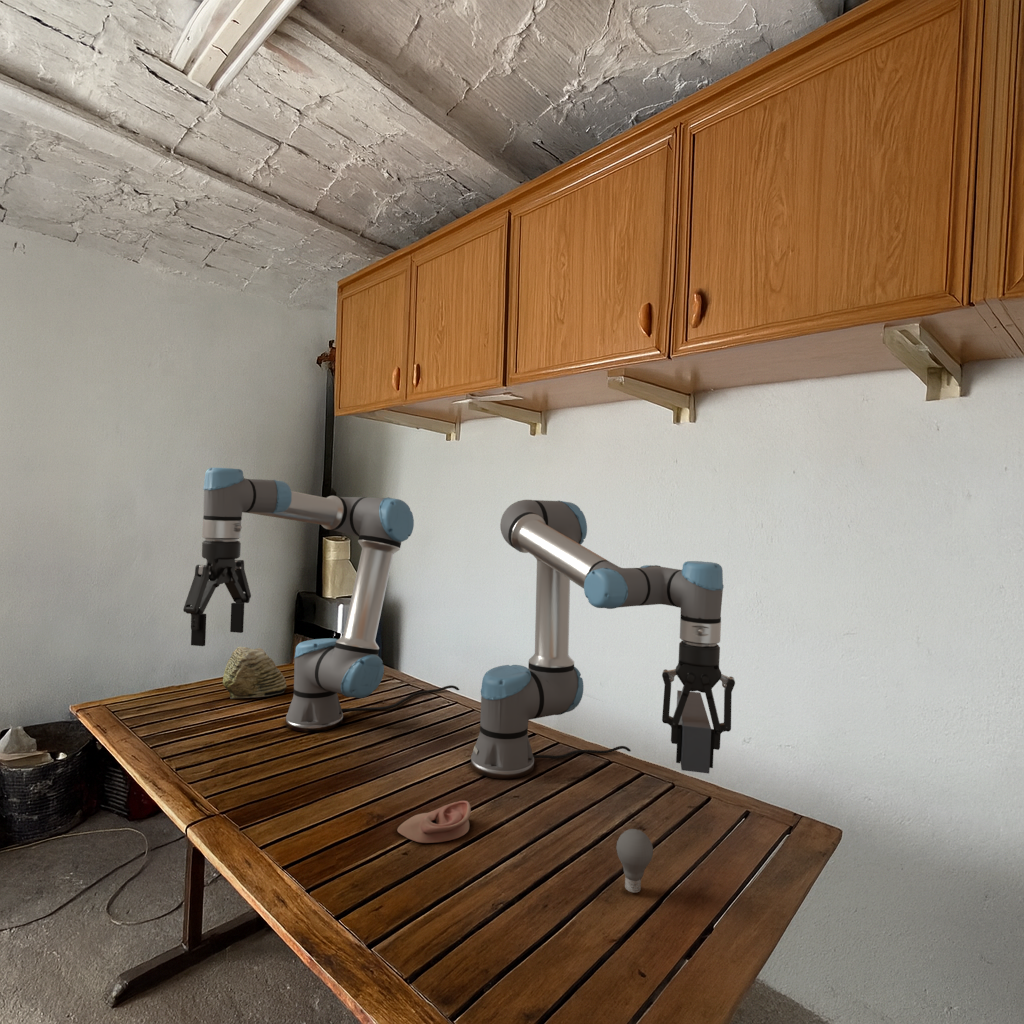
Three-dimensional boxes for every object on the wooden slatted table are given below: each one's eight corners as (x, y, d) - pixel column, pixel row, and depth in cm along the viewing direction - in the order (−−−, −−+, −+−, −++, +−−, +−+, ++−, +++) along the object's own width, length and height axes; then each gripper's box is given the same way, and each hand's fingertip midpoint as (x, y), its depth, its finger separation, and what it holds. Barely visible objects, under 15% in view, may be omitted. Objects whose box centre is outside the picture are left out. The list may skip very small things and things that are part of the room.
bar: (675, 727, 143) (677, 690, 143) (698, 730, 142) (700, 692, 142) (681, 770, 119) (683, 725, 119) (709, 773, 118) (711, 728, 118)
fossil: (218, 695, 195) (220, 647, 195) (278, 685, 208) (279, 640, 207) (228, 703, 189) (230, 653, 188) (289, 692, 201) (290, 645, 201)
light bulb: (610, 879, 108) (613, 822, 108) (644, 879, 109) (647, 822, 109) (619, 902, 102) (622, 840, 102) (655, 901, 103) (658, 840, 103)
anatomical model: (391, 817, 118) (413, 790, 130) (390, 838, 118) (412, 809, 130) (459, 827, 116) (476, 799, 127) (459, 849, 116) (475, 819, 127)
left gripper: (200, 544, 123) (196, 653, 123) (268, 537, 147) (265, 628, 148) (165, 542, 124) (162, 650, 124) (239, 536, 149) (236, 626, 149)
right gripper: (649, 641, 120) (644, 762, 121) (752, 651, 115) (746, 778, 116) (652, 634, 128) (647, 748, 128) (748, 643, 123) (743, 762, 123)
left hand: (218, 638), depth 136 cm, fingers open, 13 cm apart
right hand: (694, 762), depth 122 cm, fingers closed on bar, 5 cm apart
